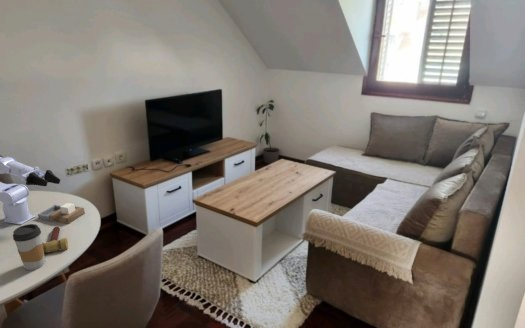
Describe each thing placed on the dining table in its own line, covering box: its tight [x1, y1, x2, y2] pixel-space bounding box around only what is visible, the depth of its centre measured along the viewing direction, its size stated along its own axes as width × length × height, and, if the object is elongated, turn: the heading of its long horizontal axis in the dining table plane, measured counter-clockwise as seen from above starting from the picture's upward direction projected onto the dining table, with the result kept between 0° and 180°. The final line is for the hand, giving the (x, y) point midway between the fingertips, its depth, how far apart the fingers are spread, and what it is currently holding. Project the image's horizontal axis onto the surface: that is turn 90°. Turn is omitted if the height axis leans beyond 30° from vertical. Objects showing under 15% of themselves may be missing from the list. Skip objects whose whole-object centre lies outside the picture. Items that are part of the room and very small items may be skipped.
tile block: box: [60, 202, 76, 214], centre depth 158 cm, size 4×4×3 cm
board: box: [49, 206, 86, 225], centre depth 159 cm, size 10×10×3 cm
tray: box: [37, 204, 62, 222], centre depth 161 cm, size 6×10×2 cm, turn 165°
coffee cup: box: [12, 223, 46, 271], centre depth 124 cm, size 8×8×15 cm
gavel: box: [42, 225, 69, 254], centre depth 141 cm, size 21×5×10 cm
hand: (53, 182), depth 146 cm, fingers open, 7 cm apart
